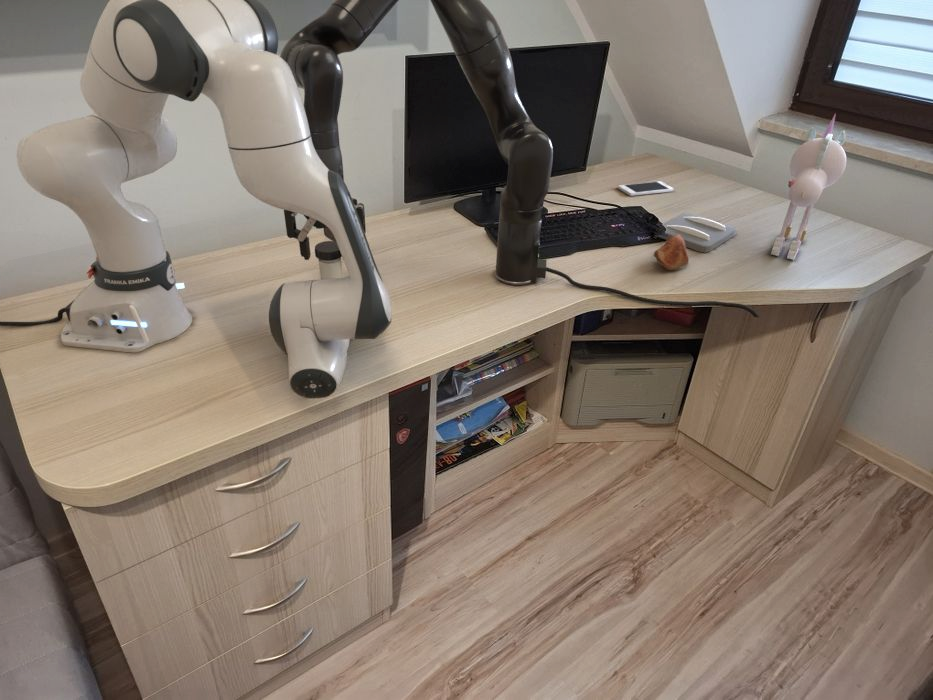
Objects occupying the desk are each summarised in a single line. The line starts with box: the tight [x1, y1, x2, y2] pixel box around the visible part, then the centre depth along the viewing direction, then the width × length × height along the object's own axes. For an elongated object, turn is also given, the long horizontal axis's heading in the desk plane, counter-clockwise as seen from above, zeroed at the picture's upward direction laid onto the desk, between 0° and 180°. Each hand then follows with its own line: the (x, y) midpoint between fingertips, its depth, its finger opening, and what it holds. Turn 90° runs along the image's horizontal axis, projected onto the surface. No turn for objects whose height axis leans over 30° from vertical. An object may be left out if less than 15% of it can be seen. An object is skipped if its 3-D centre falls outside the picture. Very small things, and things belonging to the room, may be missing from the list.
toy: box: [770, 112, 847, 261], centre depth 159 cm, size 12×36×30 cm, turn 148°
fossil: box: [653, 234, 690, 271], centre depth 150 cm, size 13×8×10 cm
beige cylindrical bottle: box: [317, 257, 344, 280], centre depth 121 cm, size 4×4×16 cm
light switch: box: [654, 212, 737, 253], centre depth 167 cm, size 18×3×15 cm
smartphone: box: [617, 180, 674, 197], centre depth 196 cm, size 7×16×1 cm, turn 111°
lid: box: [314, 240, 342, 261], centre depth 116 cm, size 5×5×2 cm
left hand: (333, 293), depth 122 cm, fingers closed on beige cylindrical bottle, 4 cm apart
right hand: (329, 258), depth 117 cm, fingers open, 7 cm apart
